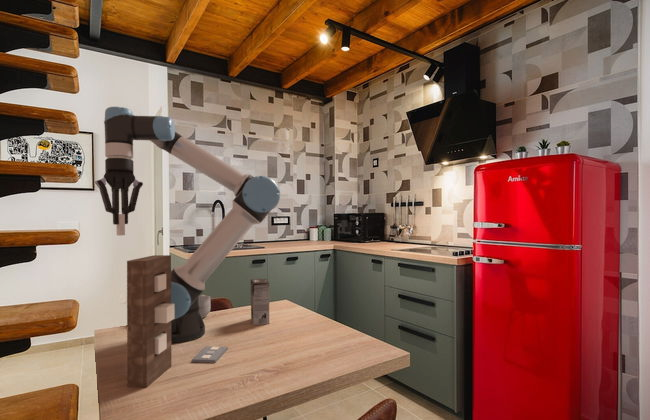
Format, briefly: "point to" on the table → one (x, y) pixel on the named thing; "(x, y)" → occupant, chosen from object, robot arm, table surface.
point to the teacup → (204, 305)
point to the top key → (159, 282)
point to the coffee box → (259, 301)
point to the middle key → (164, 313)
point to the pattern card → (210, 354)
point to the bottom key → (160, 343)
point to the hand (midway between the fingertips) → (120, 235)
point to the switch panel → (146, 320)
